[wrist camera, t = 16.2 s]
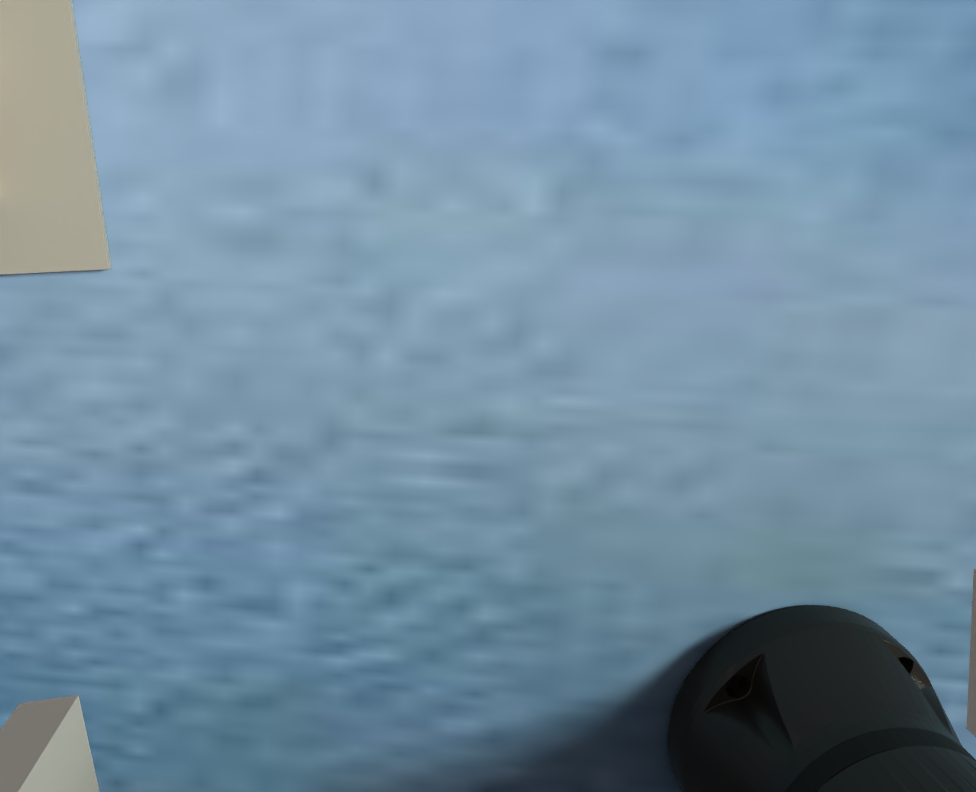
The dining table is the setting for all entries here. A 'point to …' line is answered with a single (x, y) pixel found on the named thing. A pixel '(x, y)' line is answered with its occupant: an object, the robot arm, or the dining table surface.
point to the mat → (46, 145)
